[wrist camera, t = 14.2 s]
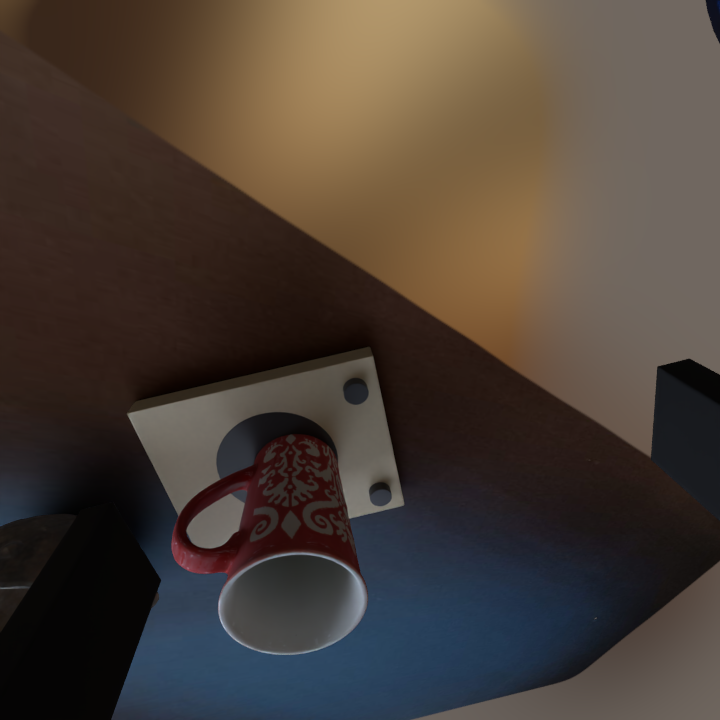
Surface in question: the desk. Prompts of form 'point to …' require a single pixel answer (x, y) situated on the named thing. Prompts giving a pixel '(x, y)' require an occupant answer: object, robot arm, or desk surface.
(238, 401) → the stove
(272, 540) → the mug
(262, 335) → the desk surface
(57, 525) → the bowl
